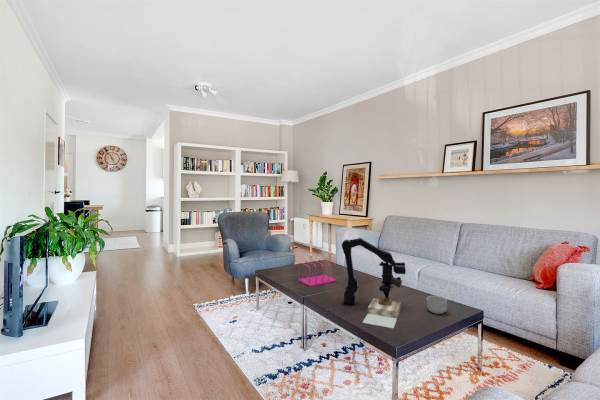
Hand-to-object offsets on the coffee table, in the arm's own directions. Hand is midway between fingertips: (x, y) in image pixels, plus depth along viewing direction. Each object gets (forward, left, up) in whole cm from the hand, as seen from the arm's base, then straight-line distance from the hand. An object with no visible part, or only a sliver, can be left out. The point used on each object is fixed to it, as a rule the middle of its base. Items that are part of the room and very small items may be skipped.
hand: (387, 298), depth 186 cm
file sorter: (-57, +29, -5) cm, 65 cm away
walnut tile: (0, -6, -1) cm, 6 cm away
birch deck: (0, -8, -5) cm, 9 cm away
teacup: (+28, +5, -5) cm, 29 cm away
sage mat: (0, -22, -5) cm, 23 cm away
